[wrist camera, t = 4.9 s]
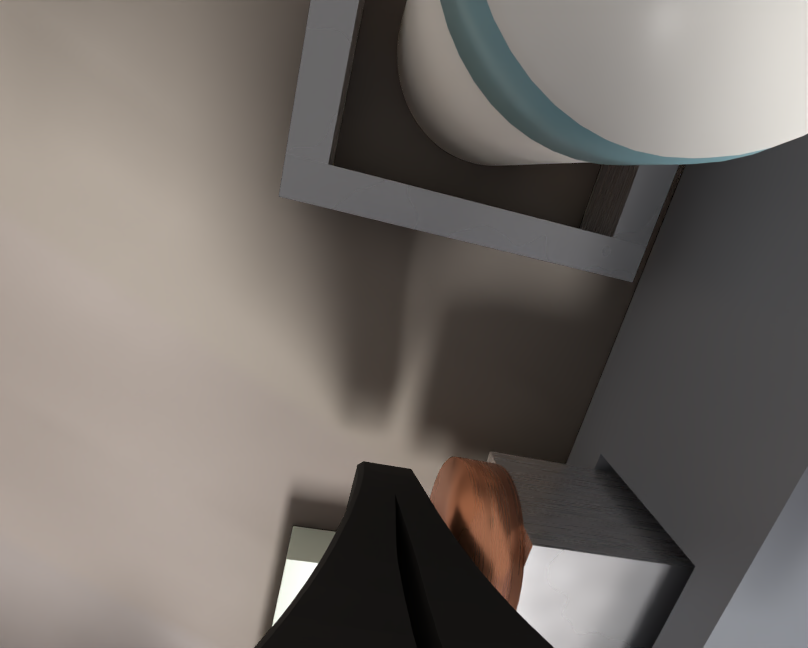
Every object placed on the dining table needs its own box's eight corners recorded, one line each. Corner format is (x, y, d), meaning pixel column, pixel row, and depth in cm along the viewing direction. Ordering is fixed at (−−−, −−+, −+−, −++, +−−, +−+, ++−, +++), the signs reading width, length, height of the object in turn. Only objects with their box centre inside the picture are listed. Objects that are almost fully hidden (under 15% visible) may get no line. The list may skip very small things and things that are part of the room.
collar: (731, -93, 10) (800, -143, 8) (597, 267, 12) (632, 282, 10) (364, -238, 8) (364, -328, 7) (290, 192, 11) (278, 196, 9)
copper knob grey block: (767, 483, 13) (915, 598, 9) (711, 585, 14) (826, 722, 10) (451, 426, 11) (490, 536, 8) (414, 544, 12) (434, 687, 9)
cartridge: (632, -29, 10) (1206, -453, 3) (560, 189, 11) (858, 218, 4) (425, -104, 9) (595, -852, 2) (373, 138, 10) (392, 82, 4)
